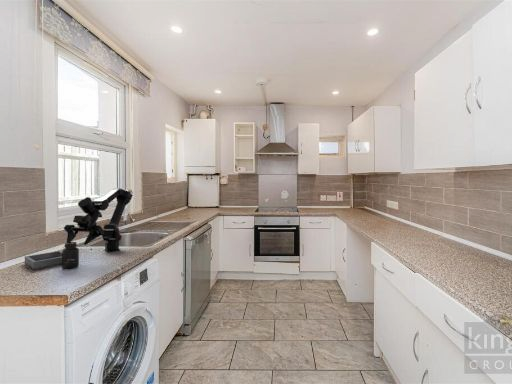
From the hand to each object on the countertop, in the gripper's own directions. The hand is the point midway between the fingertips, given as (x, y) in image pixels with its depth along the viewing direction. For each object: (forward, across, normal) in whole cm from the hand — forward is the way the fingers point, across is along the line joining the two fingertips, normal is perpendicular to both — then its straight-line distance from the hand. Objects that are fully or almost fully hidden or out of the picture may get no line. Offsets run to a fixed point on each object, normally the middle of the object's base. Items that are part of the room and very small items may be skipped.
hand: (75, 244), depth 137 cm
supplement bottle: (+10, 0, +5) cm, 11 cm away
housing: (+7, -15, +8) cm, 19 cm away
